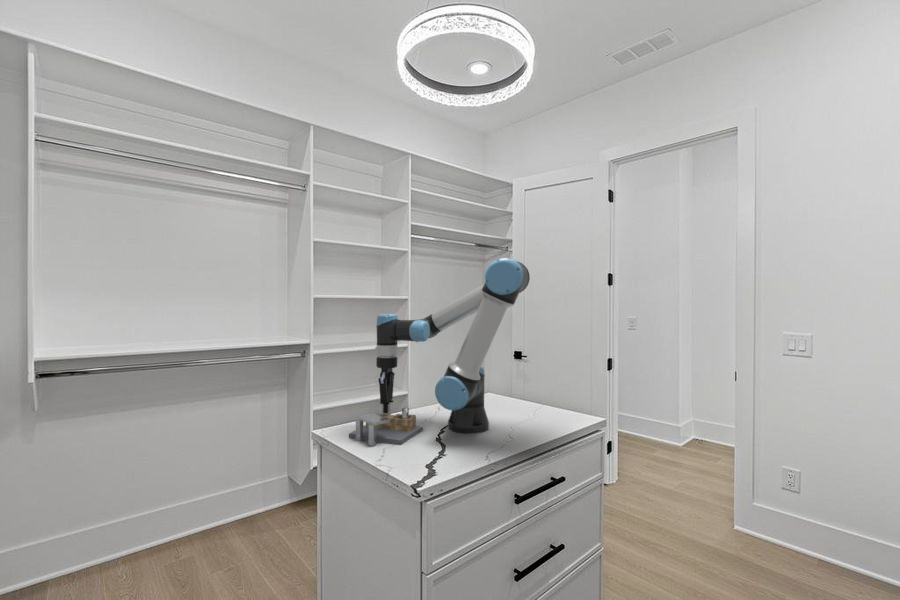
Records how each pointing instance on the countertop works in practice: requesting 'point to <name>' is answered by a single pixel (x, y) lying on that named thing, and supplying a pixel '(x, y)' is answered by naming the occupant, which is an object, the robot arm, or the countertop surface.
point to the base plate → (389, 435)
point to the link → (397, 423)
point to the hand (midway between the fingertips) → (386, 421)
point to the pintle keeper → (374, 424)
